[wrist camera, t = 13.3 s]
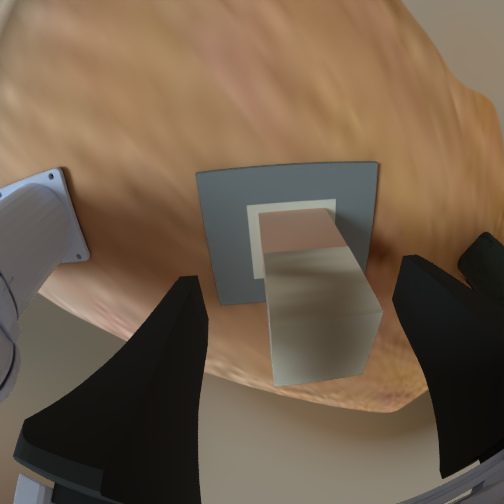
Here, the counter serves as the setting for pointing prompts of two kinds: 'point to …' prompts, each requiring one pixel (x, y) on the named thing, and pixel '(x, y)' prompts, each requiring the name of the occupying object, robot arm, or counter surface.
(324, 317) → the block cream
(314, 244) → the block brown
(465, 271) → the black and grey bottle
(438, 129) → the counter surface
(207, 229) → the board
